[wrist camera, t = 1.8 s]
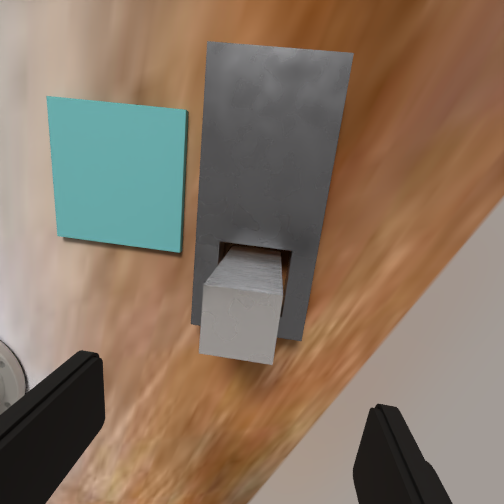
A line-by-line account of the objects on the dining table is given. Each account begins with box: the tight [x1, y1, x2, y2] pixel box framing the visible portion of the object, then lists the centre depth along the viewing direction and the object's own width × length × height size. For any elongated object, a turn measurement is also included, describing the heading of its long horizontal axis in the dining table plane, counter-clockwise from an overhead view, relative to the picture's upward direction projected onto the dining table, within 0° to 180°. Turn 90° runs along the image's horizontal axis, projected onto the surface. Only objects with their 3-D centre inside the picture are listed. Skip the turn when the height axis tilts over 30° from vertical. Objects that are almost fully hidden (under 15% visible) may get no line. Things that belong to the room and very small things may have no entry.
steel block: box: [199, 245, 283, 365], centre depth 20 cm, size 4×4×10 cm
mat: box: [47, 96, 188, 253], centre depth 23 cm, size 12×12×1 cm
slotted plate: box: [191, 41, 354, 341], centre depth 22 cm, size 22×10×2 cm, turn 174°
